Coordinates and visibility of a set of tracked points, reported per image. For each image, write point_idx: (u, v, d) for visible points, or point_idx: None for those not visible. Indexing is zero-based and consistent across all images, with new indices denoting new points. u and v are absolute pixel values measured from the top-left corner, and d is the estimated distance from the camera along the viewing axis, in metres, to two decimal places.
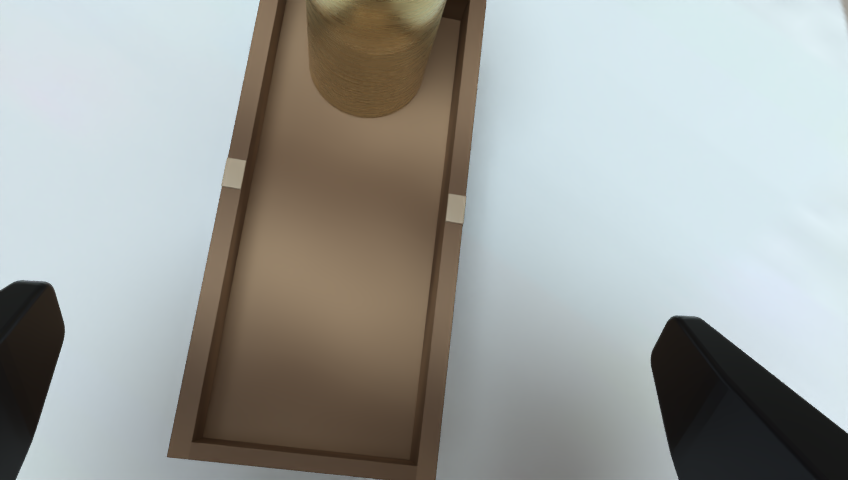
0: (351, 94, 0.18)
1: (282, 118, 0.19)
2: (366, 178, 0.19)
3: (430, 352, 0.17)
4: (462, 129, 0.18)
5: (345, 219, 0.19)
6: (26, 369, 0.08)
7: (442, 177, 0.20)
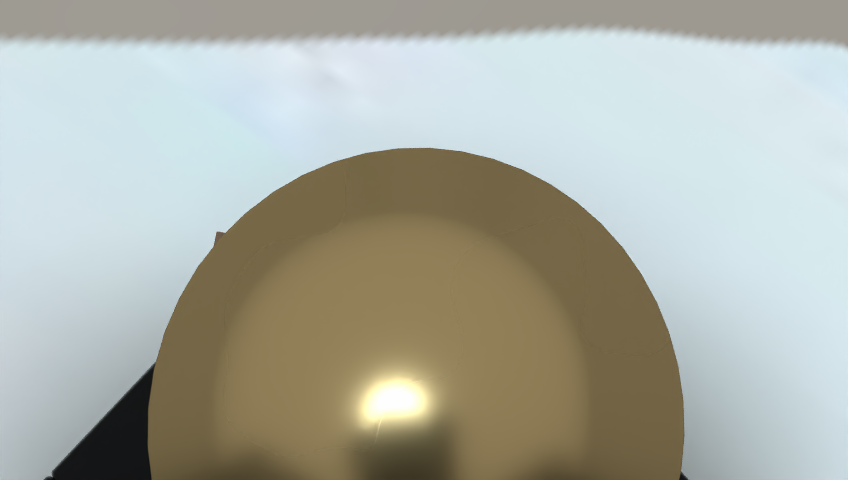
0: None
1: None
2: None
3: None
4: None
5: None
6: None
7: None
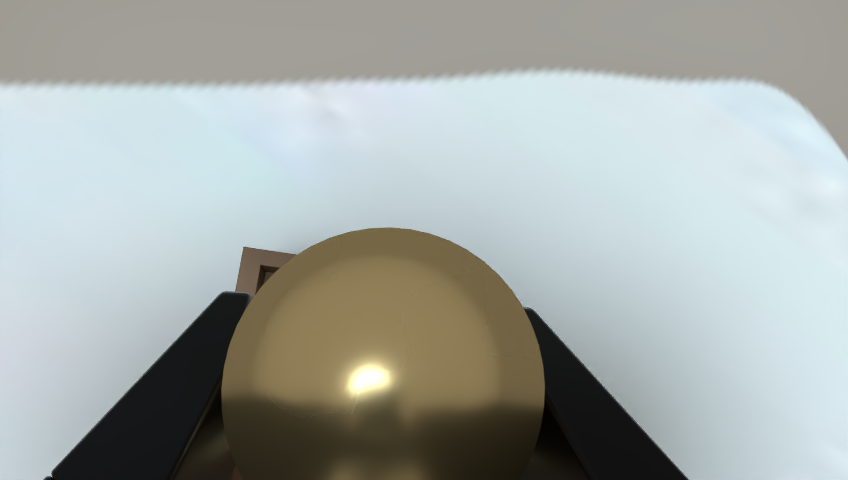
0: None
1: None
2: None
3: None
4: None
5: None
6: None
7: None
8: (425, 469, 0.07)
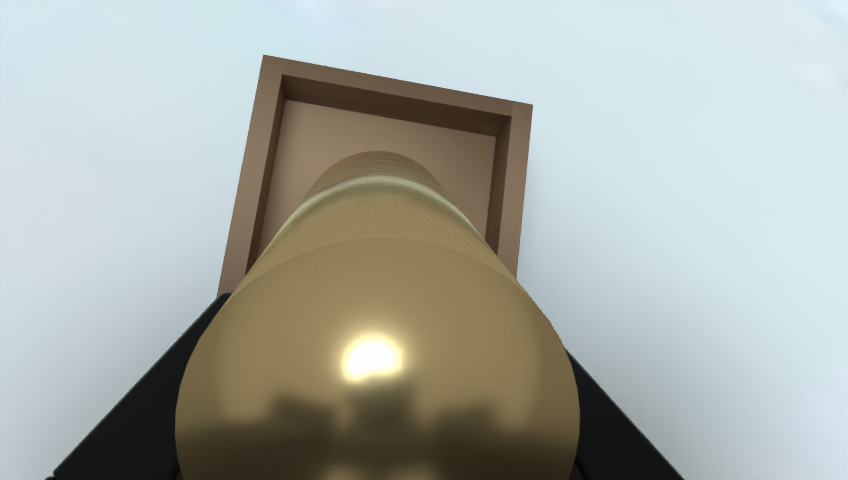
0: None
1: None
2: None
3: None
4: None
5: None
6: None
7: None
8: None
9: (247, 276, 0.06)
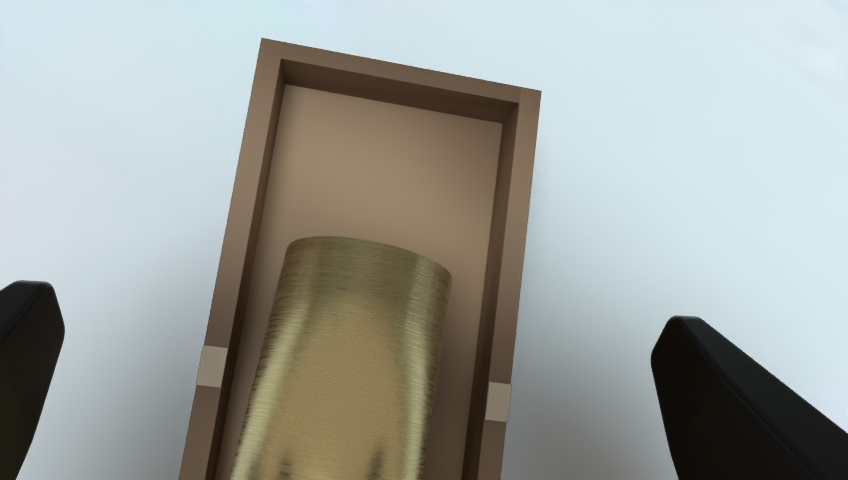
0: None
1: (277, 263, 0.15)
2: None
3: None
4: (507, 291, 0.14)
5: None
6: (26, 369, 0.08)
7: (478, 336, 0.16)
8: None
9: None
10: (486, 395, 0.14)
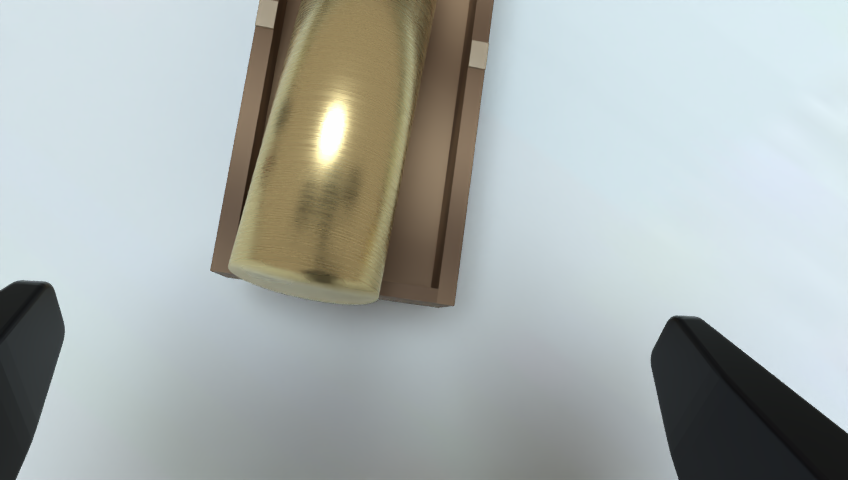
0: None
1: None
2: None
3: (452, 188, 0.18)
4: None
5: None
6: (26, 369, 0.08)
7: (465, 31, 0.20)
8: (327, 295, 0.16)
9: (243, 231, 0.14)
10: (470, 51, 0.19)
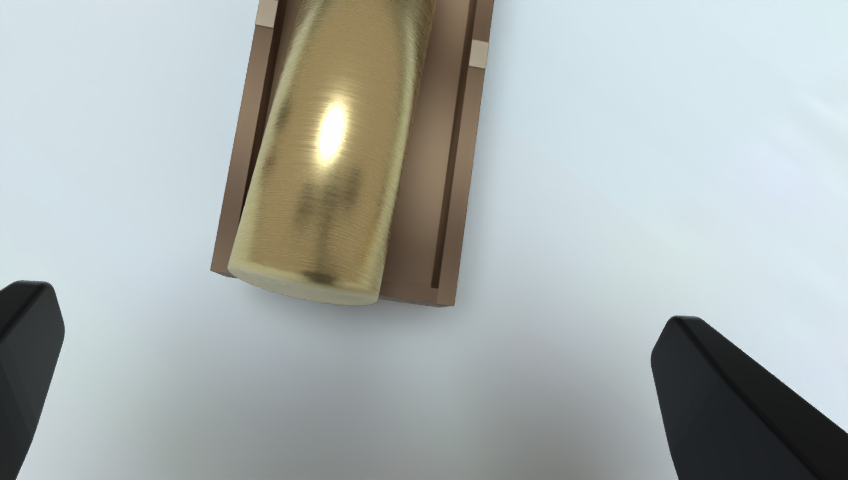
0: None
1: None
2: None
3: (452, 188, 0.18)
4: None
5: None
6: (26, 369, 0.08)
7: (465, 30, 0.20)
8: (327, 296, 0.16)
9: (243, 233, 0.14)
10: (470, 51, 0.19)
